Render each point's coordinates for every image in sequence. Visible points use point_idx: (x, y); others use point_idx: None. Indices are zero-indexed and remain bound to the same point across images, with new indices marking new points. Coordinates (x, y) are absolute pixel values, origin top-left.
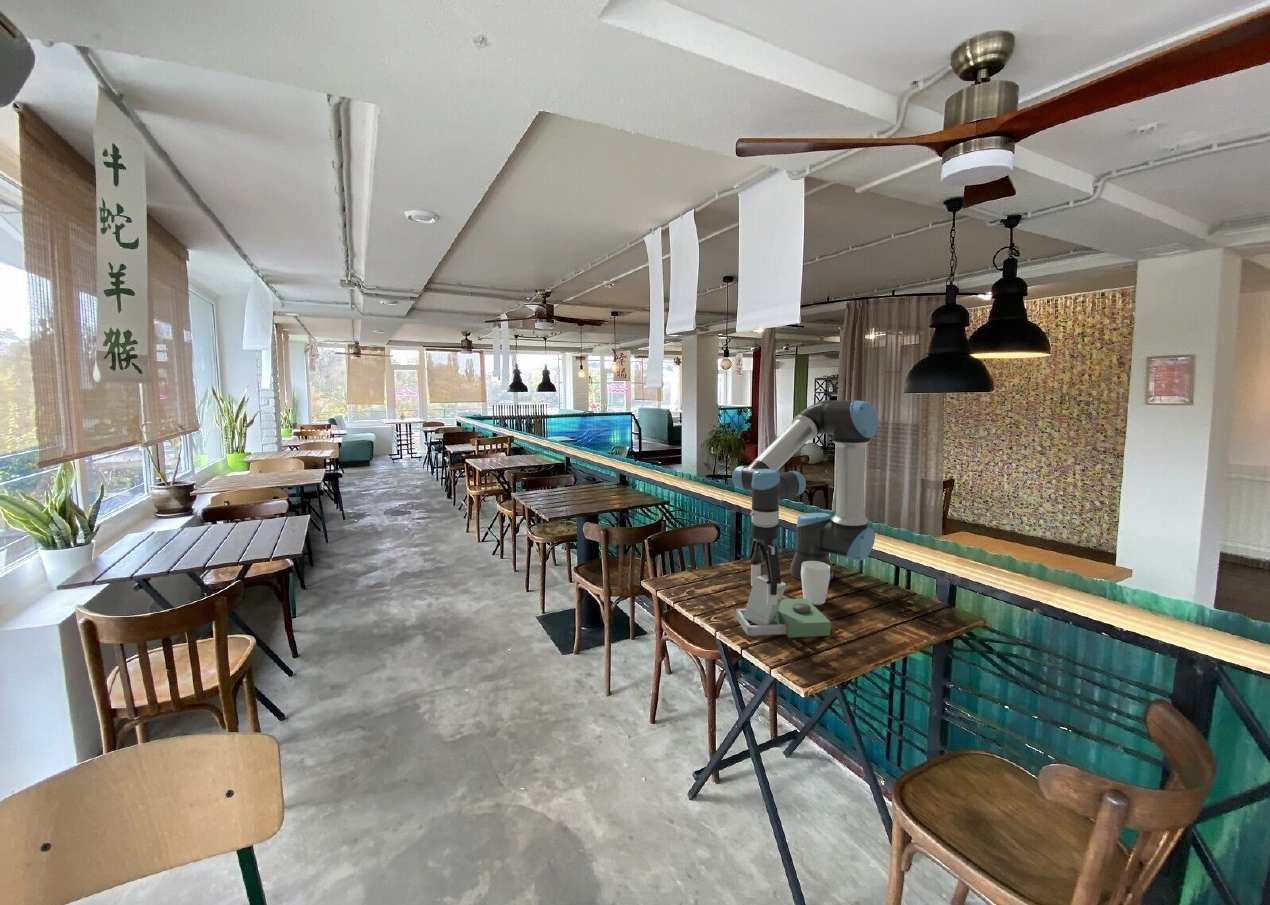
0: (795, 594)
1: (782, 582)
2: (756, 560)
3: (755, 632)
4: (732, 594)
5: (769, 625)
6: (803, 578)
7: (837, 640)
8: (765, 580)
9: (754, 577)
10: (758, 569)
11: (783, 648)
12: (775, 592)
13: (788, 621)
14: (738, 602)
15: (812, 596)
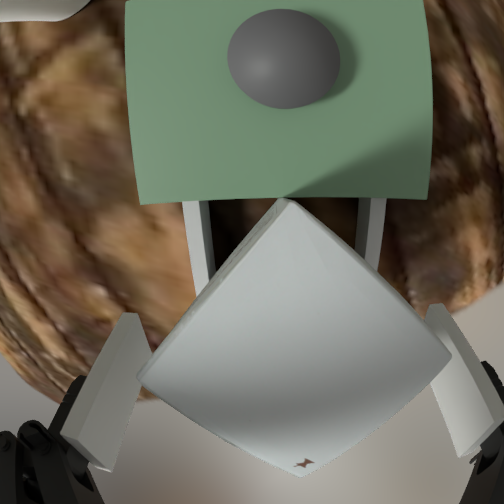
0: (21, 50)
1: (275, 248)
2: (91, 498)
3: None
4: (43, 275)
5: (370, 261)
6: (2, 7)
7: (429, 15)
8: (344, 437)
9: (130, 386)
10: (100, 418)
11: (453, 232)
12: (492, 378)
13: (405, 191)
14: (91, 275)
15: None
